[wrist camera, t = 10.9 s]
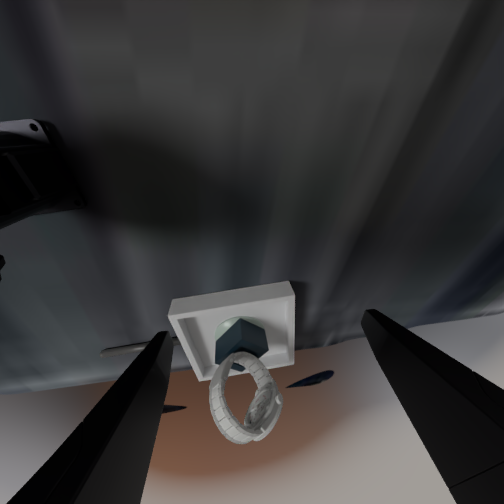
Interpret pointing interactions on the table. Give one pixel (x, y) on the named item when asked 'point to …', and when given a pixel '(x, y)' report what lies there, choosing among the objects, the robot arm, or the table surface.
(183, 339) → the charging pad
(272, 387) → the watch
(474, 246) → the table surface
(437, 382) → the robot arm
